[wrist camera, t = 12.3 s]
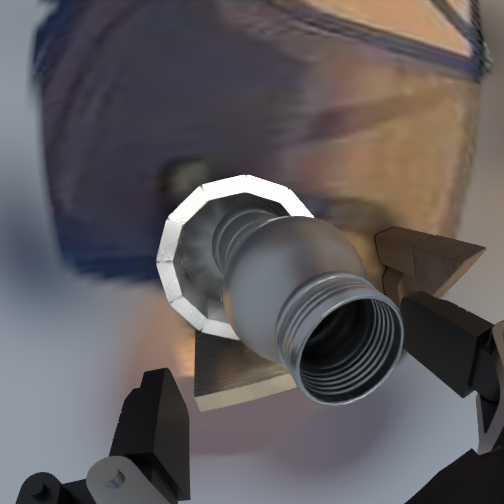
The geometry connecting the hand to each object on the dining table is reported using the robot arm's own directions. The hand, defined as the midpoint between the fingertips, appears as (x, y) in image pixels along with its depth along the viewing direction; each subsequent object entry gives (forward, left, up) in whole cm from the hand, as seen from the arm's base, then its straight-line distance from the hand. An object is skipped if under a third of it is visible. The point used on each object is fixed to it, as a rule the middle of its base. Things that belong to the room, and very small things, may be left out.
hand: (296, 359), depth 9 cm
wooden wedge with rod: (+8, +18, -22) cm, 29 cm away
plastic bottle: (-1, +1, -19) cm, 19 cm away
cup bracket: (+2, 0, -21) cm, 21 cm away
